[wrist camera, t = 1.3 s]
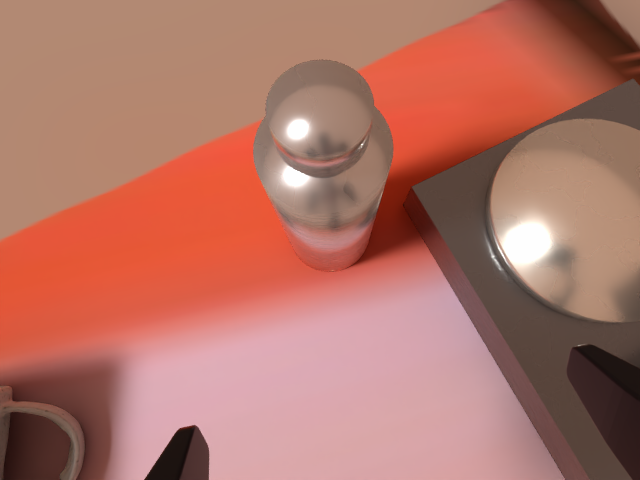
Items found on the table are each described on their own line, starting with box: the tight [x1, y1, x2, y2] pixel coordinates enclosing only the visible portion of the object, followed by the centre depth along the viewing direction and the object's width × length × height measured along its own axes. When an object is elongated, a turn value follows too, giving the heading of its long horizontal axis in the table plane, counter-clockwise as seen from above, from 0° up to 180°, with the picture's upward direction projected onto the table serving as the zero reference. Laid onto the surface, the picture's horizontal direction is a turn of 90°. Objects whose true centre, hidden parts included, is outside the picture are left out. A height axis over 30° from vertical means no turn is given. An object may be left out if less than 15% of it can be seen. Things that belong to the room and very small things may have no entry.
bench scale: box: [403, 79, 640, 480], centre depth 20 cm, size 20×15×6 cm
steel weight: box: [253, 60, 393, 272], centre depth 18 cm, size 5×5×14 cm
